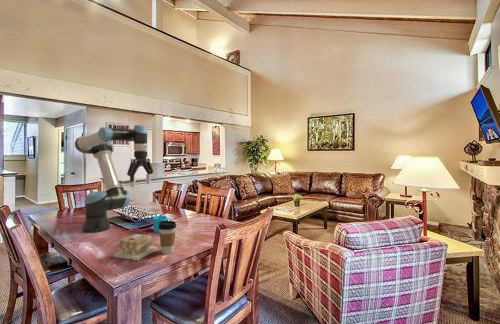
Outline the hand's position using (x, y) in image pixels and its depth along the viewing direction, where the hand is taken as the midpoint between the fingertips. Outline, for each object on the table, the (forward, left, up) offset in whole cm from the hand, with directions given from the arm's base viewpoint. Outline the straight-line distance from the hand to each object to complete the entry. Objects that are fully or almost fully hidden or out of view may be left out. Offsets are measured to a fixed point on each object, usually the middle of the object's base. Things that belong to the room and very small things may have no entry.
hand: (141, 185), depth 158 cm
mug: (+10, +8, -29) cm, 32 cm away
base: (+20, -28, -29) cm, 45 cm away
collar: (+20, -28, -27) cm, 44 cm away
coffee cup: (+34, -22, -29) cm, 49 cm away
